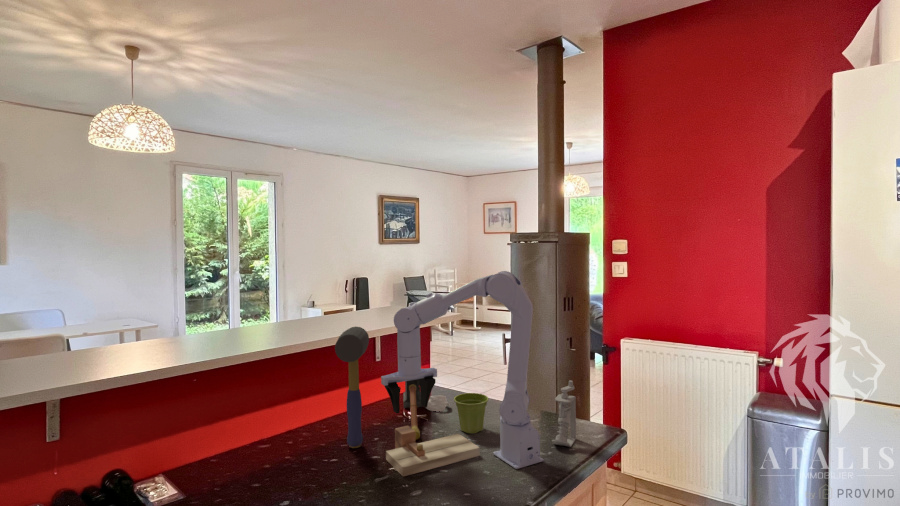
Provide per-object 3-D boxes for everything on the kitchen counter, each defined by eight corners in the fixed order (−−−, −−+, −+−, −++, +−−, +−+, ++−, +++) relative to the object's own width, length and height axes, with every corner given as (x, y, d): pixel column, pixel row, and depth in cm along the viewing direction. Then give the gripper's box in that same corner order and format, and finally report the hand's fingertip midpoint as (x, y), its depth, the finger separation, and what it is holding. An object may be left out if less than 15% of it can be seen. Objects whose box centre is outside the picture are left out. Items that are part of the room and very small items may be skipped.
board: (479, 455, 117) (479, 447, 117) (402, 476, 107) (402, 467, 107) (458, 441, 125) (458, 433, 125) (386, 459, 116) (385, 450, 116)
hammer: (403, 405, 124) (402, 353, 153) (404, 459, 128) (403, 399, 157) (426, 404, 125) (421, 353, 154) (426, 457, 129) (421, 398, 158)
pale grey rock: (422, 414, 149) (420, 399, 148) (427, 405, 155) (426, 390, 155) (447, 414, 147) (445, 398, 146) (452, 404, 153) (450, 390, 153)
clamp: (550, 449, 120) (549, 388, 119) (560, 435, 128) (559, 378, 128) (567, 452, 118) (566, 390, 117) (576, 437, 126) (575, 380, 126)
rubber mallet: (366, 456, 117) (363, 332, 117) (335, 457, 117) (332, 333, 116) (372, 436, 130) (370, 324, 129) (344, 437, 129) (342, 325, 129)
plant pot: (489, 436, 128) (489, 403, 128) (454, 436, 129) (453, 403, 128) (488, 423, 138) (487, 392, 138) (454, 423, 138) (454, 393, 138)
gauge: (428, 463, 113) (428, 441, 113) (414, 466, 112) (414, 444, 111) (408, 445, 123) (407, 425, 123) (395, 449, 121) (394, 428, 121)
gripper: (427, 348, 128) (429, 399, 129) (376, 355, 121) (377, 410, 122) (440, 353, 122) (441, 407, 123) (386, 361, 115) (388, 418, 115)
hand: (410, 409), depth 122 cm, fingers open, 7 cm apart
